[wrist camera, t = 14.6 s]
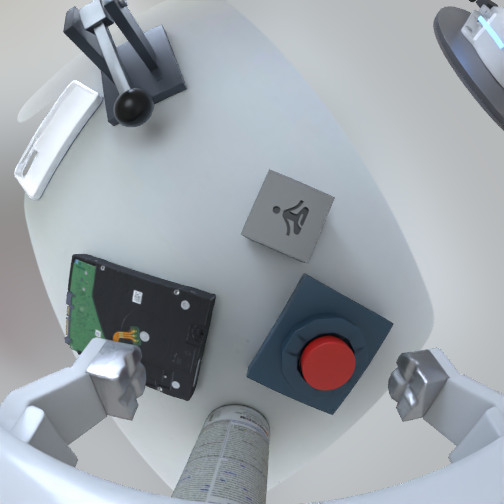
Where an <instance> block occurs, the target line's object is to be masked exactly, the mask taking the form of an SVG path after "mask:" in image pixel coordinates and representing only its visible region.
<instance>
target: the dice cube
mask: <svg viewBox="0 0 504 504" xmlns="http://www.w3.org/2000/svg"><path fill="white" fill-rule="evenodd" d="M333 201H334V197H332V196H330V195H328V194H326V193H324V192H321V191H319V190H317V189H315V188H312V187H310V186H308V185H306V184H303V183H301V182H299V181H296V180H294V179H292V178H289V177H287V176H284V175H282V174H279V173H277V172H275V171H272V170H270V169H269V171H268V174H267V176H266V178H265V180H264V182H263V185H262V187H261V189H260V191H259V194H258V196H257V198H256V200H255V203H254V205H253V207H252V209H251V212H250V214H249V216H248V218H247V221H246V223H245V225H244V228H243V230H242V232H241V235H243V236H245V237H246V238H248V239H250V240H253V241H255V242H257V243H260V244H262V245H264V246H266V247H269V248H271V249H273V250H276V251H278V252H280V253H282V254H285V255H287V256H289V257H292V258H294V259H296V260H298V261H301V262H304V263H308V261H309V259H310V257H311V254H312V252H313V250H314V247H315V245H316V243H317V240H318V238H319V235H320V233H321V231H322V228H323V226H324V223H325V221H326V218H327V216H328V213H329V211H330V208H331V206H332V203H333Z"/></svg>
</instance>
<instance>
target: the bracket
mask: <svg viewBox="0 0 504 504" xmlns="http://www.w3.org/2000/svg"><path fill="white" fill-rule="evenodd" d="M127 6H128V3H127V1H126V0H103V7H104V8H105V9H106V11H107V12H108V14H109V15H110V16H111V18H112V19H113V20H114V22H115V23H116V25H117V26H118V27H119V29H120V30H121V31H122V33H123V34H124V36H125V37H126V38H127V40H128V41H127V42H125V43H123V44H122V45H120V46H118V47H116V49H117V51H118V54H119V56H120V59H121V61H122V63H123V66H124V68H125V71H126V73H127V75H128V78H129V80H130V82H131V85H132V87H133V88H140V89H143V90H145V91H147V92H148V93H149V94H150V95H151V97H152V99H153V103H154V104H155V103H157V102H159V101H161V100H163V99H165V98H167V97H169V96H171V95H173V94H176V93H178V92H180V91H182V90H185V89H187V88H186V85H185V82H184V80H183V77H182V74H181V72H180V69H179V67H178V64H177V61H176V59H175V56H174V53H173V51H172V48H171V45H170V43H169V40H168V38H167V35H166V32H165V30H164V28H163V26H162V25H160V26H157V27H155V28H153V29H151V30H149V31H147V32H145V33H143V32H142V30H141V28H140V27H139V25H138V24H137V22H136V20H135V19H134V17H133V16H132V14H131V13H130V11H129V9H128V8H127ZM63 32H64V33H65V34H66V35H67V36H68V37H69V38H70V39H71V40H72V41H73V42H74V43H75V44H76V45H77V46H78V47H79V48H80V49H81V50H82V51H83V52H84V53H85V54H86V56H87V57H88V58H89V59H90V60H91V61H92V62H93V63H94V64H95V65H96V66H97V67H98V68H99V69H100V70H101V75H102V83H103V91H104V98H105V105H106V111H107V117H108V122H109V123H111V124H112V125H113V126H115V125H116V124H118V123H119V122H118V121H117V120H116V118H115V116H114V104H115V101H116V100H117V98H118V97H119V95H120V94H119V92H118V90H117V87H116V85H115V83H114V80H113V78H112V75H111V73H110V70H109V68H108V66H107V63H106V61H105V58H104V56H103V53H102V51H101V48H100V45H99V43H98V40H97V38H96V35H94V34H92V33H90V32H88V31H86V30H85V29H84V26H83V23H82V20H81V17H80V14H79V11H78V9H77V8H76V7H73V8H72V9H70V10H69V11H67V13H66V18H65V25H64V31H63Z"/></svg>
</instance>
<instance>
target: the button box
mask: <svg viewBox="0 0 504 504" xmlns="http://www.w3.org/2000/svg"><path fill="white" fill-rule="evenodd" d="M392 326H393V323H392V322H390V321H388V320H387V319H385V318H383V317H381V316H380V315H378V314H376V313H374V312H373V311H371V310H369V309H367V308H365V307H364V306H362V305H360V304H358V303H356V302H355V301H353V300H351V299H349V298H348V297H346V296H344V295H342V294H340V293H339V292H337V291H335V290H333V289H331V288H330V287H328V286H326V285H324V284H322V283H321V282H319V281H317V280H315V279H313V278H312V277H310V276H308V275H306V274H303V276H302V278H301V279H300V281H299V283H298V285H297V287H296V288H295V290H294V292H293V294H292V295H291V297H290V299H289V301H288V302H287V304H286V306H285V308H284V309H283V311H282V313H281V314H280V316H279V318H278V320H277V321H276V323H275V325H274V326H273V328H272V330H271V331H270V333H269V335H268V336H267V338H266V340H265V341H264V343H263V344H262V346H261V348H260V349H259V351H258V353H257V354H256V356H255V357H254V359H253V361H252V362H251V364H250V365H249V367H248V372H247V376H246V377H248V378H250V379H252V380H254V381H256V382H258V383H260V384H262V385H264V386H266V387H268V388H270V389H273V390H275V391H277V392H279V393H281V394H283V395H286V396H288V397H290V398H292V399H295V400H297V401H299V402H302V403H304V404H306V405H309V406H311V407H314V408H316V409H319V410H321V411H324V412H326V413H329V414H331V415H333V414H334V412H335V411H336V410H337V409H338V407H339V406H340V405H341V403H342V402H343V401H344V399H345V398H346V397H347V395H348V394H349V393H350V391H351V390H352V388H353V387H354V386H355V384H356V383H357V381H358V380H359V379H360V377H361V376H362V374H363V373H364V371H365V370H366V368H367V367H368V365H369V364H370V362H371V361H372V359H373V357H374V356H375V354H376V353H377V351H378V349H379V348H380V346H381V345H382V343H383V341H384V340H385V338H386V336H387V334H388V333H389V331H390V329H391V328H392ZM322 336H335V337H338V338H340V339H342V340H343V341H344V342H345V343H346V344H347V345H348V347H349V348H350V349H351V351H352V352H353V354H354V356H355V369H354V372H353V374H352V376H351V377H350V379H349V380H348V381H347V382H346V383H345V384H344V385H342V386H340V387H338V388H336V389H333V390H318V389H315V388H313V387H312V386H310V385H309V384H308V383H307V382H306V380H305V379H304V376H303V372H302V368H301V355H302V352H303V350H304V349H305V347H306V346H307V345H308V344H309V343H310V342H311V341H313V340H314V339H316V338H319V337H322Z"/></svg>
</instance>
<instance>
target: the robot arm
mask: <svg viewBox="0 0 504 504" xmlns="http://www.w3.org/2000/svg"><path fill="white" fill-rule="evenodd" d="M469 1H470V2H474V1H476V0H469ZM476 3H477V5H478V6H479V7H480V10H479V11H477V10H474V11H473V12H472V13H471V14H470V16H469V18H468V19H467V21H466V22H465V24H464V26H463V27H462V29H461V32H462V33H463V35H464V36H465V37H466V38H467V39H468V41H469V42H470V43H471V44H472V45H473V47H474V48H475V50H476V52H477V53H478V55H479V57H480V58H481V60H482V61H483V63H484V64H485V66H486V67H487V69H488V70H489V71H490V73H491V74H492V75H493V76H494V78H495V79H496V80H497V81H498V83H499V84H500V85H501V86H502V87H503V88H504V7H498V5H497V4H495V3H494V2H492V1H490V0H477V1H476ZM141 358H142V353H141V349H140V347H138V346H136V345H131V344H126V343H121V342H116V341H112V340H106V339H102V338H98V337H96V338H93V339H92V340H91V341H90V343H89V344H88V345H87V347H86V348H85V349H84V350H83V352H82V353H81V355H80V356H79V357H78V359H77V360H76V361H75V363H74V364H73V365H72V367H71V368H68V367H66V368H63V369H62V370H59V371H57V372H55V373H52V374H50V375H48V376H46V377H43V378H41V379H39V380H36V381H34V382H32V383H30V384H27V385H25V386H23V387H20V388H18V389H16V390H13V391H11V392H10V393H9V394H8V395H7V397H6V398H5V400H4V401H3V402H2V403H1V405H0V504H216V503H206V502H198V501H191V500H184V499H178V498H173V497H167V496H162V495H158V494H153V493H149V492H145V491H141V490H137V489H134V488H130V487H127V486H123V485H120V484H117V483H114V482H111V481H108V480H105V479H102V478H99V477H97V476H94V475H91V474H89V473H86V472H84V471H81V470H79V469H76V468H75V466H76V463H77V461H78V459H77V457H76V455H75V454H74V453H73V451H72V450H71V449H70V448H69V447H68V445H69V444H70V443H72V442H73V441H74V440H76V439H77V438H78V437H80V436H81V435H83V434H84V433H85V432H87V431H88V430H89V429H91V428H92V427H94V426H95V425H96V424H98V423H99V422H100V421H101V420H103V419H104V418H106V417H107V415H110V416H114V417H118V418H122V419H127V420H131V421H132V420H133V417H134V415H135V412H136V410H137V407H138V403H137V400H136V398H138V397H140V396H141V395H142V394H143V392H144V389H145V384H146V371H145V367H144V366H143V365H142V364H141V363H140V360H141ZM396 363H397V366H398V367H397V368H396V369H395V370H394V371H393V372H392V373H391V376H390V378H389V382H388V389H389V394H390V396H391V398H392V399H393V400H395V401H396V402H398V403H397V407H396V408H397V410H398V413H399V415H400V417H401V419H402V421H409V420H413V419H418V418H422V417H423V419H424V420H425V421H426V422H428V423H429V424H430V425H431V426H433V427H434V428H435V429H436V430H438V431H439V432H440V433H441V434H442V435H444V436H445V437H446V438H447V439H449V440H450V441H451V442H453V443H454V444H455V445H456V446H457V447H456V448H455V449H454V450H453V451H452V452H451V453H450V454H449V457H448V458H449V459H450V462H451V464H450V465H448V466H446V467H444V468H442V469H439V470H437V471H434V472H432V473H429V474H427V475H424V476H422V477H419V478H416V479H413V480H410V481H408V482H405V483H401V484H398V485H395V486H392V487H388V488H385V489H381V490H377V491H374V492H370V493H365V494H361V495H356V496H351V497H346V498H341V499H335V500H329V501H321V502H313V503H304V504H504V395H503V394H501V393H499V392H497V391H495V390H493V389H491V388H489V387H487V386H485V385H483V384H481V383H479V382H477V381H475V380H474V379H471V378H470V377H468V376H465V375H460V373H459V372H458V371H457V369H456V368H455V367H454V366H453V364H452V363H451V362H450V361H449V359H448V358H447V357H446V356H445V354H444V353H443V352H442V351H441V349H439V348H432V349H426V350H421V351H414V352H407V353H402V354H401V355H400V356H399V358H398V360H397V362H396Z"/></svg>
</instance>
